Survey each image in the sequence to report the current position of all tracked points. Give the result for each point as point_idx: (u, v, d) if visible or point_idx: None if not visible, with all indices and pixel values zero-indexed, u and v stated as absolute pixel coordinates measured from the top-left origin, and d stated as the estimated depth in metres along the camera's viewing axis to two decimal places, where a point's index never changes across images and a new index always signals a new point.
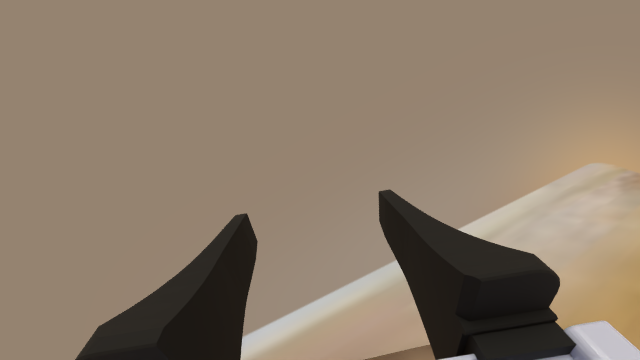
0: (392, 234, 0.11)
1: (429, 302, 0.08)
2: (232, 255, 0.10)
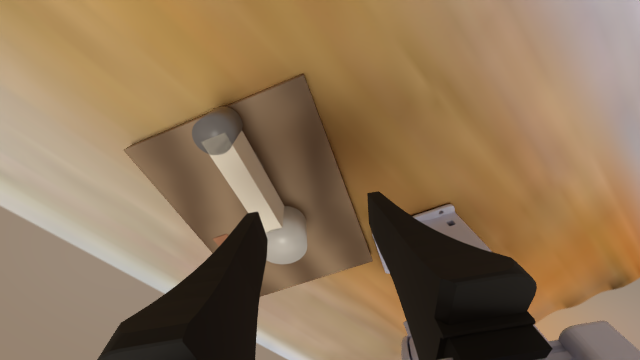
0: (380, 236, 0.11)
1: (412, 305, 0.08)
2: (246, 253, 0.10)
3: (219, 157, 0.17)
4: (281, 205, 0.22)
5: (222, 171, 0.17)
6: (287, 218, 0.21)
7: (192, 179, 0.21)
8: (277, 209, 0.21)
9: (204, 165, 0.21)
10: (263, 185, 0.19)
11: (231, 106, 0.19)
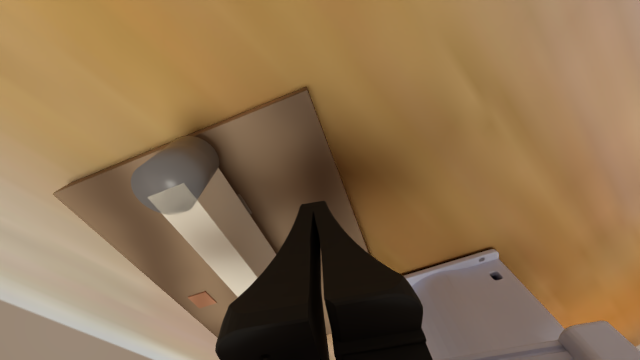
0: (320, 246, 0.11)
1: None
2: (313, 242, 0.10)
3: (178, 217, 0.11)
4: None
5: (185, 235, 0.11)
6: None
7: (154, 229, 0.16)
8: None
9: None
10: (248, 246, 0.13)
11: (202, 134, 0.13)
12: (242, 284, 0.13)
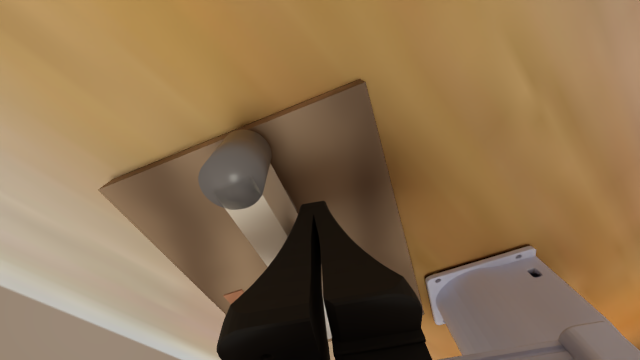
0: None
1: None
2: (313, 242, 0.10)
3: (241, 213, 0.10)
4: None
5: (244, 231, 0.11)
6: None
7: (197, 226, 0.15)
8: None
9: (214, 208, 0.15)
10: None
11: (255, 128, 0.13)
12: None
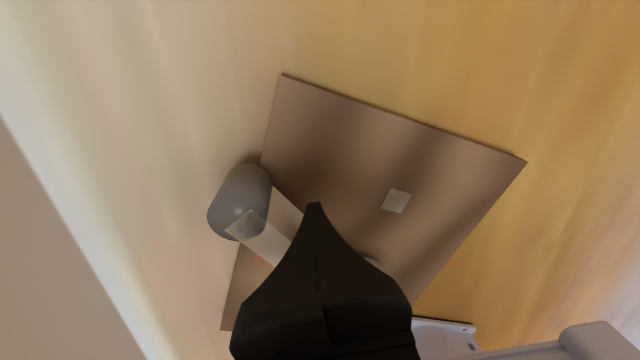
0: None
1: None
2: None
3: (254, 241, 0.11)
4: None
5: (263, 256, 0.12)
6: None
7: (317, 172, 0.14)
8: None
9: (349, 168, 0.14)
10: None
11: (448, 135, 0.14)
12: None
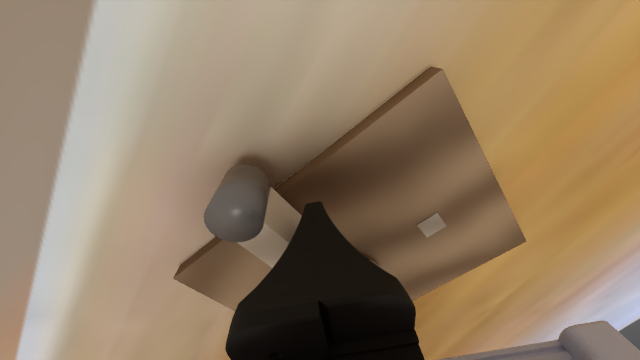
0: None
1: None
2: None
3: (251, 242, 0.11)
4: None
5: (261, 257, 0.12)
6: None
7: (399, 167, 0.14)
8: None
9: (423, 178, 0.15)
10: None
11: (501, 193, 0.16)
12: None
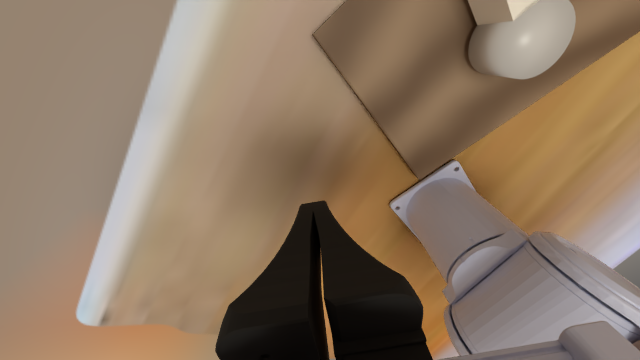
0: (320, 246, 0.11)
1: None
2: (313, 242, 0.10)
3: None
4: None
5: None
6: None
7: None
8: None
9: None
10: None
11: None
12: None
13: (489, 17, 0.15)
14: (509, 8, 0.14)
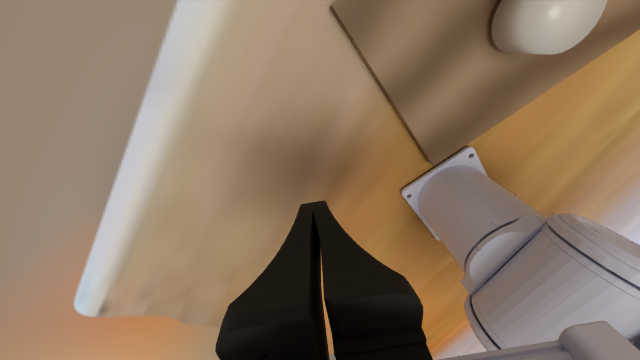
0: (320, 246, 0.11)
1: None
2: (313, 242, 0.10)
3: None
4: None
5: None
6: None
7: None
8: None
9: None
10: None
11: None
12: None
13: None
14: None
